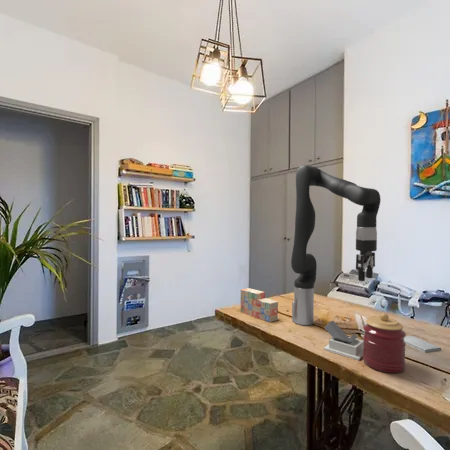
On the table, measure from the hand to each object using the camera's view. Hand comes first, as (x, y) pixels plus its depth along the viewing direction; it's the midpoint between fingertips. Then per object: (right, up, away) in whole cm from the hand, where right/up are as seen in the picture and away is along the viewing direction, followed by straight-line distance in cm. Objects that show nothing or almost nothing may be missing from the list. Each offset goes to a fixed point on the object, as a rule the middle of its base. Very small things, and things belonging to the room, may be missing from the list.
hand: (365, 279), depth 118 cm
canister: (-1, -27, -16) cm, 31 cm away
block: (-8, -23, -6) cm, 25 cm away
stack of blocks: (-38, -26, +36) cm, 59 cm away
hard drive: (+22, -27, +1) cm, 35 cm away
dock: (-10, -26, -5) cm, 28 cm away
